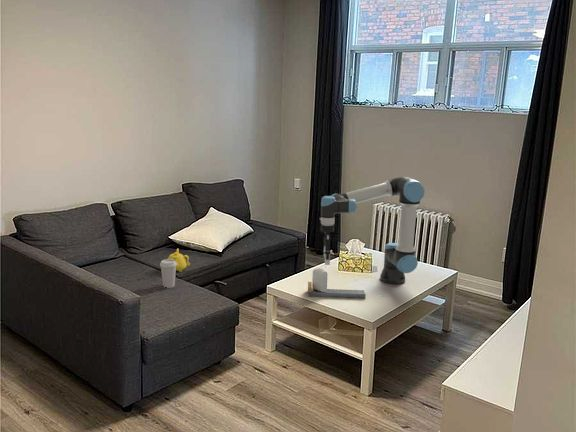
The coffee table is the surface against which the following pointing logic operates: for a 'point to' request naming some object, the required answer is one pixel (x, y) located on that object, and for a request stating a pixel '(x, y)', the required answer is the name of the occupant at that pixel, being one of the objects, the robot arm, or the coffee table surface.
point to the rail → (335, 293)
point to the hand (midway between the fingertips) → (326, 260)
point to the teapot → (179, 260)
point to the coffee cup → (168, 272)
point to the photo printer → (319, 280)
